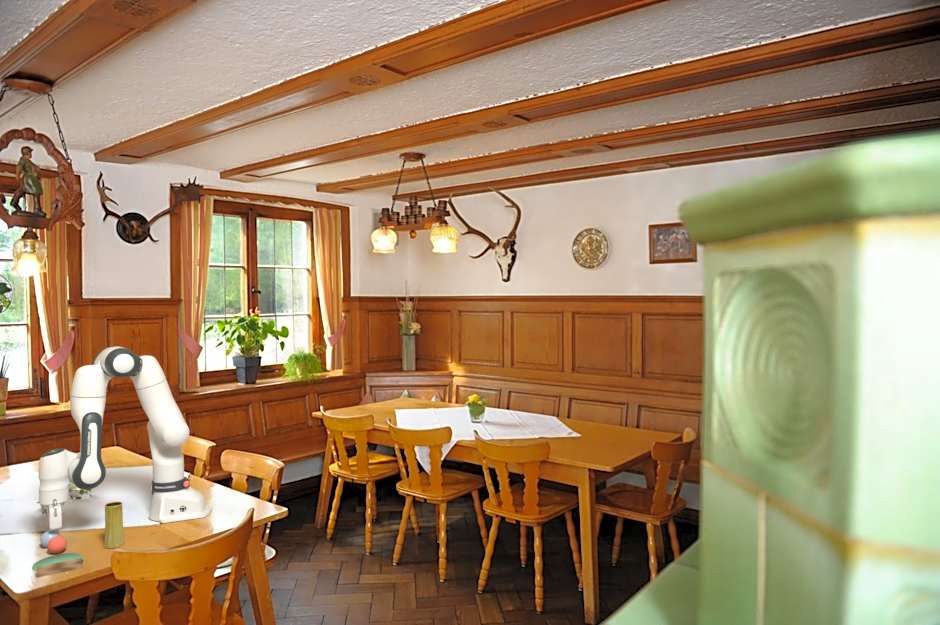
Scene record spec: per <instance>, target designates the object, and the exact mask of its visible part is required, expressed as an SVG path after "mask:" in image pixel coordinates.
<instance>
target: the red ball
mask: <svg viewBox="0 0 940 625" xmlns="http://www.w3.org/2000/svg"><path fill="white" fill-rule="evenodd" d="M67 545H68V541H67V539H66V538H65V537H63V536H60V535H59V536H56V537H53V538H52V539H51V540H50V541H49V542H48V545H47V547H46V548H47V550H48V552H50V553H51V554H54V555H58V554H59V553H60V554H61V553H62V552H64V550H65V549H66V548H67Z"/></svg>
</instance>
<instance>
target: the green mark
mask: <svg viewBox="0 0 940 625" xmlns="http://www.w3.org/2000/svg"><path fill="white" fill-rule="evenodd" d="M80 554H81V553H76V552H68V553H60V554H59V553H58V554H54V555H51V556H47V557H44V558H41V559H39V560H38V561H36V562H35V563H33V564H32V566H31V568H32V570H33V571H35V572H37V567H39V566H44V565H49V564H54V563H59V562H64V561H68V560H73V559H78V558H82V557H84V558H85V556H84V555H83V554H82V555H83V556H82V555H81V556H80ZM79 556H80V557H79Z"/></svg>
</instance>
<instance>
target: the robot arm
mask: <svg viewBox="0 0 940 625" xmlns="http://www.w3.org/2000/svg"><path fill="white" fill-rule="evenodd" d="M112 378H130V379H131V381H132V383H133V385H134V389H135V391H136V392H135V393H136V394H137V397H138V400H139V402H140V405H141V407H142V409H143V411H144V412H145V414H146V416H147V417H148V422H147V425H146V428H147V433H148V439H149V448H150V452H151V453H150V454H151V459H152V480H151V490H150V491H151V495H152V498H151V499H152V500H151V506H150V511H149V515H148V519H149V520H151V521H153V522H154V521H155V522H158V523H160V524H164V523H173V522H180V521H188V520H197V519H202V518H203V519H204V518H205V517H207V516H209V515H210V514H211V513H212V511H213V507H212V505H211V504H209V503H208V504H207V503H206V499H205V496H204V494H203V493H202V492H200V491H199V490H197V489H195V488H194V487H192V486H191V478H190V477H187V476H185V459H184V458H185V457H184V454H183V450H182V445H183V444H184V443H186V441H188V439H189V436H190V428H189V426H188V424H187V422H186V420H185V418H184V416H183V414H182V412H181V410H180V407H179V406H178V404H177V402H176V400H175V398H174V396H173V394H172V390H171V388H170V385H169V383H168V380H167V377H166V375H165V372H164V370H163V368H162V367H161V364H160V363H159V361H158V360H157V358H156V357H155V356H153V355H150V354H149V355H140V356H139V355H138V354H136V353H135V352H134V351H132V350H131V349H129V348H126V347H123V346H107V347H105V348H103V349H101V350H100V351H99V353H98V354H97V355H96V356H95V357H94V359H93V360H92V362H91V363H90V364H87V365H86V364H85V365H82V366H80V367H78V368H77V369H76V370H75V373H74V377H73V380H72V383H71V384H72V385H71V390H70V401H69V404H70V406H69V407H70V413H71V414H70V415H71V417H72V418H73V420H74V422H76V425H77V427H78V429H79V433H80V434H79V435H80V448H79V453H77V452H72V451H70V450H68V449H66V448H63V447H59V448H54V449H50V450H47V451H46V452H44V453H43V454H42V455H41V457H40V458H39V462H38V480H39V487H38V502H39V503H38V504H39V505H40V504H42V505H43V507H44V508H46V510H47V512H46V514H47V515H46V516H47V522H48V528H49V531H56V532H58V533H59V530H62V528H63V509H62V507H63V506H65V504H66V502H67V501H69V500H70V487H69V486H70V484H74V486H75V487H76V488H78V489H81V490H84V491H85V490H93V489H95V488H97V487H99V486H100V485H101V484H102V483H103V482H104V480H105V478H106V476H107V470H106V466H105V464H104V463H103V458H102V433H103V432H102V430H103V429H102V428H103V422H104V414H105V409H106V401H107V388H108V384H109V382H110V380H111V379H112Z"/></svg>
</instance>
